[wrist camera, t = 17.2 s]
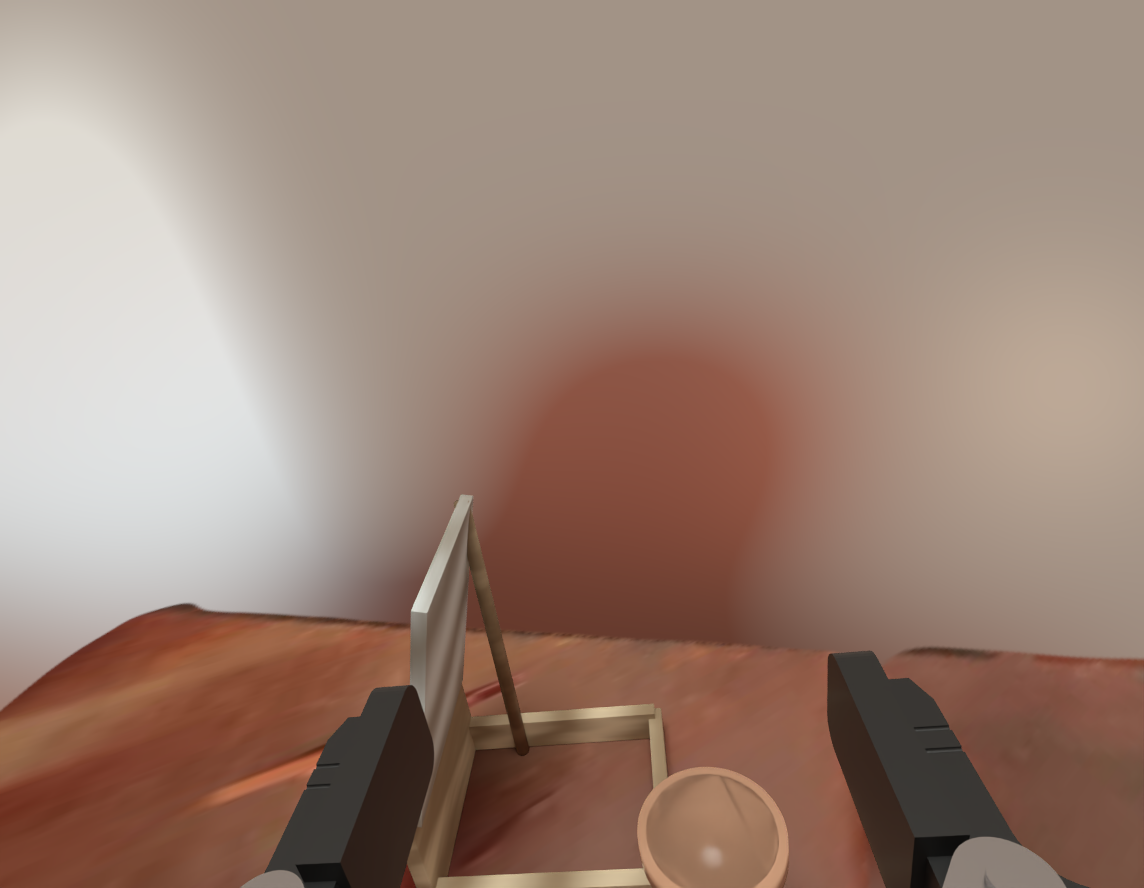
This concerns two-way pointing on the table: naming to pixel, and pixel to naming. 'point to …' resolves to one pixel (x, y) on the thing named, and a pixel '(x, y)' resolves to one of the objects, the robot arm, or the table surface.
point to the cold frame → (492, 718)
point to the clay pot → (712, 833)
